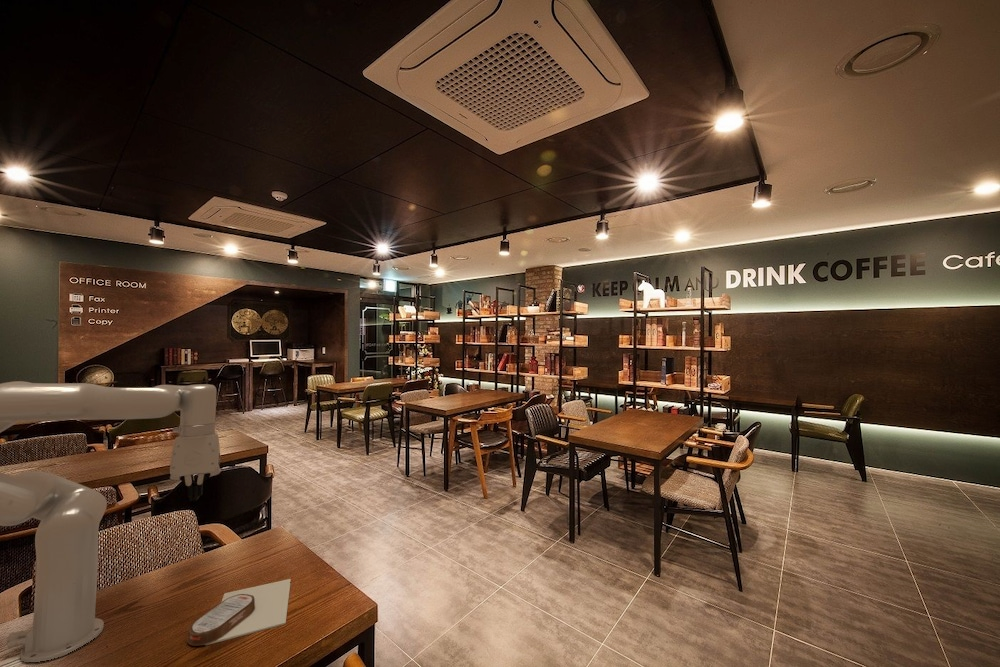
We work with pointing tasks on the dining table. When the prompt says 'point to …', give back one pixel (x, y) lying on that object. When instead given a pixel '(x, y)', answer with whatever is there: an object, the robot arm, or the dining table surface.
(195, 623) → the tin
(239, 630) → the mat
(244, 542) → the dining table surface
